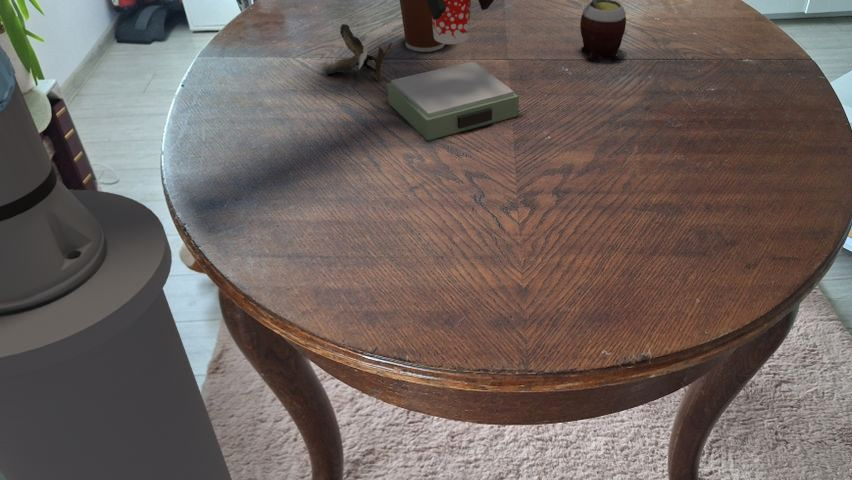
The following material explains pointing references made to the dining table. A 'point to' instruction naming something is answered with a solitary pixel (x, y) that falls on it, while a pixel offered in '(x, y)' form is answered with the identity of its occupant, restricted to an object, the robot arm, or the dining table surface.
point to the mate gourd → (602, 28)
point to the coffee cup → (418, 26)
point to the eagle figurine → (357, 55)
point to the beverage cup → (453, 22)
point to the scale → (452, 100)
